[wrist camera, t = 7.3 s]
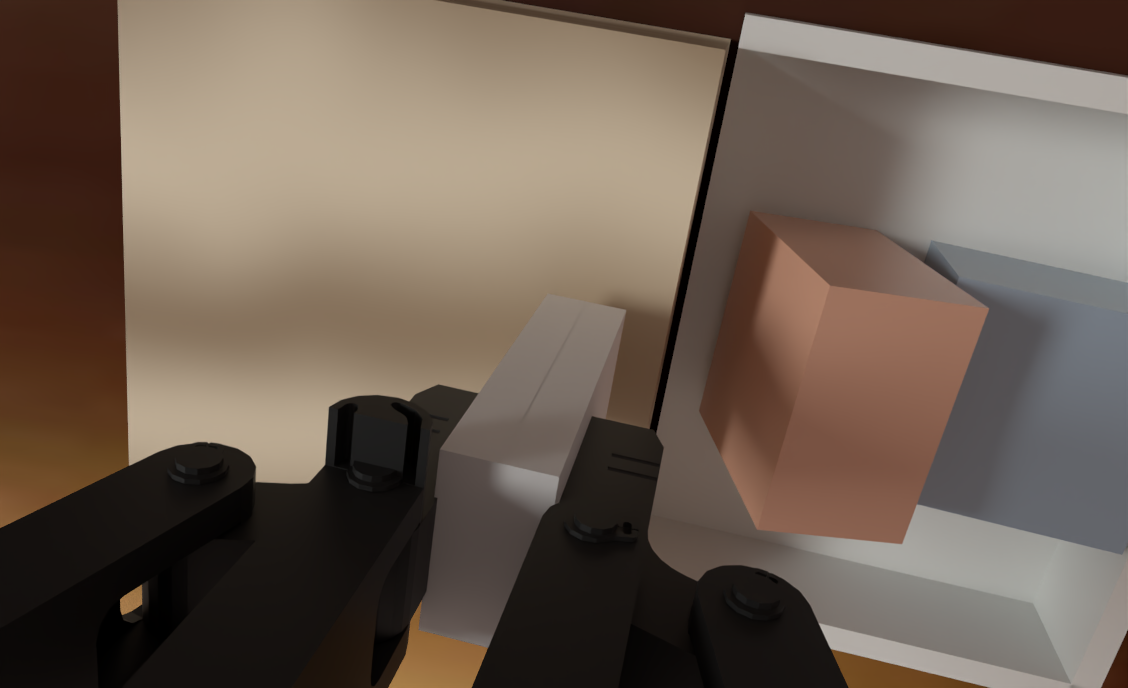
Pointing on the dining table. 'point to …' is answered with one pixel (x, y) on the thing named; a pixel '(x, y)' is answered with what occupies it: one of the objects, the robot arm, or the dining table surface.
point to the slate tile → (1038, 402)
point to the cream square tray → (389, 203)
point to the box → (911, 220)
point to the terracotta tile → (835, 377)
